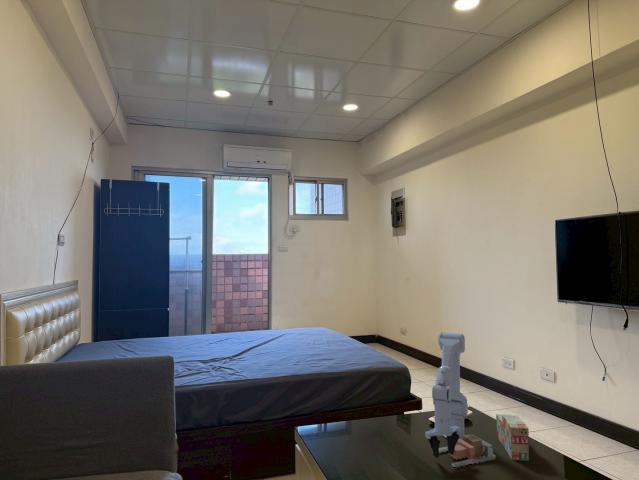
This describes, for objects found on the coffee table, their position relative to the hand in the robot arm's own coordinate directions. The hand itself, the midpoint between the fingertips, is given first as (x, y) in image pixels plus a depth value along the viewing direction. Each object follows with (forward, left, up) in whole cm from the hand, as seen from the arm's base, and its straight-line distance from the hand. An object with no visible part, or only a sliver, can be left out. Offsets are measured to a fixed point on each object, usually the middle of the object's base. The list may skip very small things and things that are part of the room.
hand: (443, 454), depth 152 cm
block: (0, +14, -2) cm, 14 cm away
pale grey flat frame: (0, +9, -2) cm, 9 cm away
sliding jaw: (0, +8, -2) cm, 8 cm away
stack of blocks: (+2, +32, -2) cm, 32 cm away
